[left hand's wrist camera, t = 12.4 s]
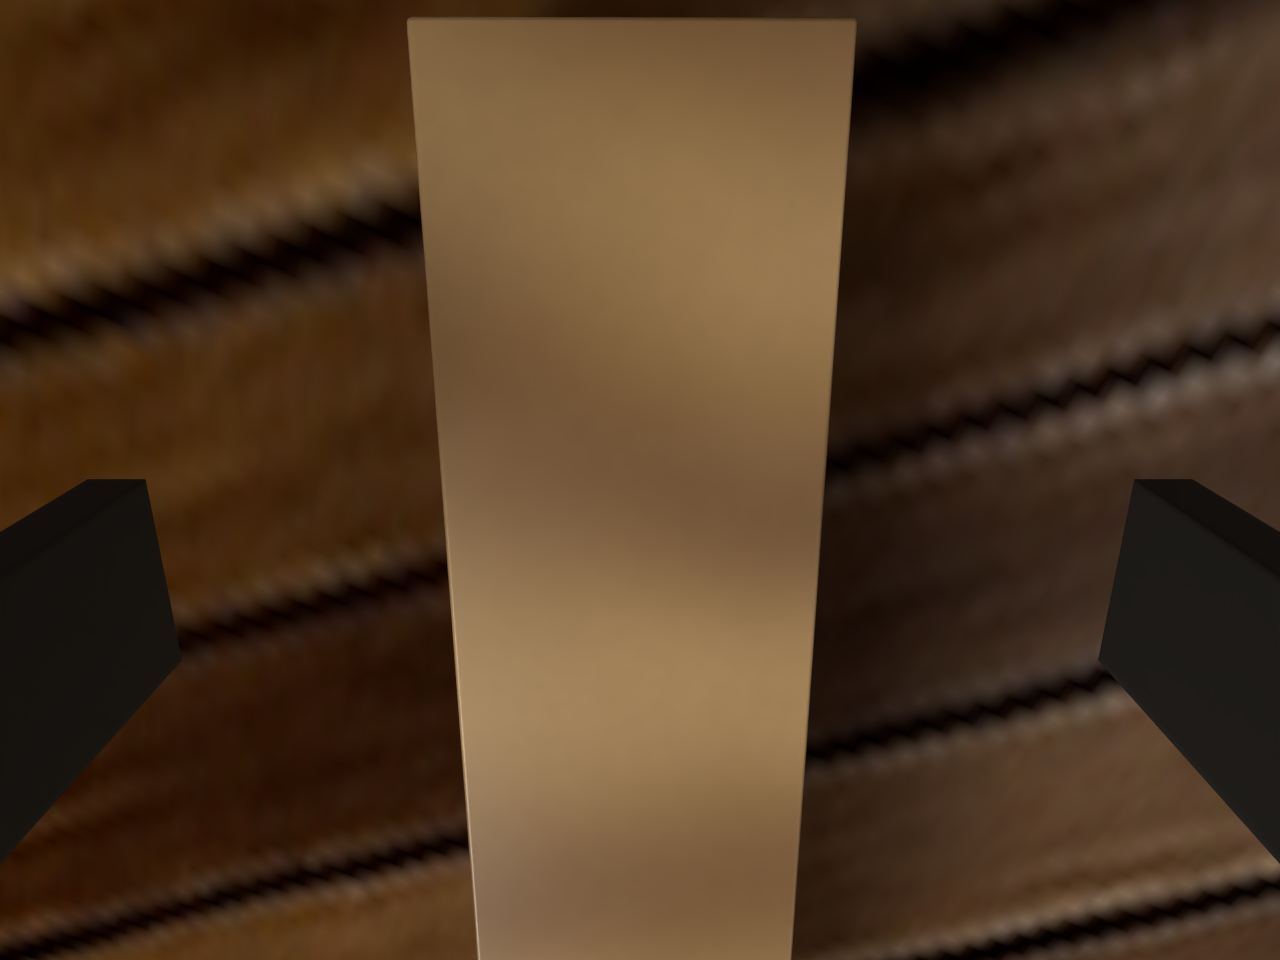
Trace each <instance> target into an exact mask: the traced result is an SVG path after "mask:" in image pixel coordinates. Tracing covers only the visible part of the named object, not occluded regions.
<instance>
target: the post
mask: <svg viewBox="0 0 1280 960" xmlns="http://www.w3.org/2000/svg"><path fill="white" fill-rule="evenodd" d="M856 31H857V22H856V19H854V18H852V17H410V18H408V20H407V34H408V47H409V61H410V74H411V87H412V100H413V114H414V127H415V140H416V153H417V166H418V180H419V193H420V206H421V219H422V233H423V246H424V259H425V272H426V286H427V299H428V312H429V325H430V339H431V352H432V365H433V378H434V392H435V405H436V418H437V431H438V445H439V458H440V471H441V484H442V498H443V511H444V524H445V537H446V551H447V564H448V577H449V590H450V604H451V617H452V630H453V643H454V656H455V670H456V683H457V696H458V709H459V723H460V736H461V749H462V762H463V776H464V789H465V802H466V815H467V829H468V842H469V855H470V868H471V882H472V895H473V908H474V921H475V935H476V948H477V960H791V959H792V945H793V931H794V916H795V902H796V888H797V873H798V859H799V845H800V831H801V816H802V802H803V788H804V773H805V759H806V745H807V731H808V716H809V702H810V688H811V673H812V659H813V645H814V631H815V616H816V602H817V588H818V573H819V559H820V545H821V531H822V516H823V502H824V488H825V474H826V459H827V445H828V431H829V416H830V402H831V388H832V374H833V359H834V345H835V331H836V316H837V302H838V288H839V274H840V259H841V245H842V231H843V216H844V202H845V188H846V174H847V159H848V145H849V131H850V116H851V102H852V88H853V74H854V59H855V45H856Z"/></svg>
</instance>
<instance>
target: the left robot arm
mask: <svg viewBox="0 0 1280 960" xmlns="http://www.w3.org/2000/svg"><path fill="white" fill-rule="evenodd" d="M181 660H182V659H181V654H180V649H179V644H178V639H177V634H176V629H175V624H174V619H173V614H172V609H171V604H170V599H169V594H168V589H167V584H166V579H165V574H164V569H163V564H162V559H161V554H160V549H159V544H158V539H157V534H156V529H155V524H154V519H153V514H152V509H151V504H150V499H149V495H148V490H147V485H146V480H145V479H87V480H86V481H84V482H82V483H81V484H79V485H78V486H76V487H74V488H73V489H71V490H69V491H68V492H66V493H64V494H63V495H61V496H59V497H58V498H56V499H54V500H53V501H51V502H49V503H48V504H46V505H44V506H43V507H41V508H39V509H38V510H36V511H34V512H33V513H31V514H29V515H28V516H26V517H24V518H23V519H21V520H19V521H18V522H16V523H14V524H13V525H11V526H10V527H8V528H6V529H5V530H3V531H1V532H0V863H1V862H2V861H3V860H4V859H5V858H6V856H7V855H8V854H9V853H10V852H11V851H12V850H13V849H14V848H15V846H16V845H17V844H18V843H19V842H20V841H21V840H22V839H23V837H24V836H25V835H26V834H27V833H28V832H29V831H30V830H31V828H32V827H33V826H34V825H35V824H36V823H37V822H38V821H39V820H40V818H41V817H42V816H43V815H44V814H45V813H46V812H47V811H48V809H49V808H50V807H51V806H52V805H53V804H54V803H55V802H56V800H57V799H58V798H59V797H60V796H61V795H62V794H63V793H64V791H65V790H66V789H67V788H68V787H69V786H70V785H71V784H72V783H73V781H74V780H75V779H76V778H77V777H78V776H79V775H80V774H81V772H82V771H83V770H84V769H85V768H86V767H87V766H88V765H89V763H90V762H91V761H92V760H93V759H94V758H95V757H96V756H97V754H98V753H99V752H100V751H101V750H102V749H103V748H104V747H105V746H106V744H107V743H108V742H109V741H110V740H111V739H112V738H113V737H114V735H115V734H116V733H117V732H118V731H119V730H120V729H121V728H122V726H123V725H124V724H125V723H126V722H127V721H128V720H129V719H130V718H131V716H132V715H133V714H134V713H135V712H136V711H137V710H138V709H139V707H140V706H141V705H142V704H143V703H144V702H145V701H146V700H147V698H148V697H149V696H150V695H151V694H152V693H153V692H154V691H155V689H156V688H157V687H158V686H159V685H160V684H161V683H162V682H163V681H164V679H165V678H166V677H167V676H168V675H169V674H170V673H171V672H172V670H173V669H174V668H175V667H176V666H177V665H178V664H179V663H180V661H181ZM1098 660H1099V661H1100V663H1101V664H1102V665H1103V666H1104V667H1105V668H1106V669H1107V670H1108V672H1109V673H1110V674H1111V675H1112V676H1113V677H1114V678H1115V679H1116V681H1117V682H1118V683H1119V684H1120V685H1121V686H1122V687H1123V688H1124V689H1125V691H1126V692H1127V693H1128V694H1129V695H1130V696H1131V697H1132V698H1133V700H1134V701H1135V702H1136V703H1137V704H1138V705H1139V706H1140V707H1141V709H1142V710H1143V711H1144V712H1145V713H1146V714H1147V715H1148V716H1149V718H1150V719H1151V720H1152V721H1153V722H1154V723H1155V724H1156V725H1157V726H1158V728H1159V729H1160V730H1161V731H1162V732H1163V733H1164V734H1165V735H1166V737H1167V738H1168V739H1169V740H1170V741H1171V742H1172V743H1173V744H1174V746H1175V747H1176V748H1177V749H1178V750H1179V751H1180V752H1181V753H1182V754H1183V756H1184V757H1185V758H1186V759H1187V760H1188V761H1189V762H1190V763H1191V765H1192V766H1193V767H1194V768H1195V769H1196V770H1197V771H1198V772H1199V774H1200V775H1201V776H1202V777H1203V778H1204V779H1205V780H1206V781H1207V783H1208V784H1209V785H1210V786H1211V787H1212V788H1213V789H1214V790H1215V791H1216V793H1217V794H1218V795H1219V796H1220V797H1221V798H1222V799H1223V800H1224V802H1225V803H1226V804H1227V805H1228V806H1229V807H1230V808H1231V809H1232V811H1233V812H1234V813H1235V814H1236V815H1237V816H1238V817H1239V818H1240V820H1241V821H1242V822H1243V823H1244V824H1245V825H1246V826H1247V827H1248V828H1249V830H1250V831H1251V832H1252V833H1253V834H1254V835H1255V836H1256V837H1257V839H1258V840H1259V841H1260V842H1261V843H1262V844H1263V845H1264V846H1265V848H1266V849H1267V850H1268V851H1269V852H1270V853H1271V854H1272V855H1273V856H1274V858H1275V859H1276V860H1277V861H1278V862H1279V863H1280V532H1279V531H1277V530H1275V529H1274V528H1272V527H1270V526H1269V525H1267V524H1266V523H1264V522H1262V521H1261V520H1259V519H1257V518H1256V517H1254V516H1252V515H1251V514H1249V513H1247V512H1246V511H1244V510H1242V509H1241V508H1239V507H1237V506H1236V505H1234V504H1232V503H1231V502H1229V501H1227V500H1226V499H1224V498H1222V497H1221V496H1219V495H1217V494H1216V493H1214V492H1212V491H1211V490H1209V489H1207V488H1206V487H1204V486H1202V485H1201V484H1199V483H1198V482H1196V481H1194V480H1193V479H1135V480H1134V485H1133V490H1132V495H1131V499H1130V504H1129V509H1128V514H1127V519H1126V524H1125V529H1124V534H1123V539H1122V544H1121V549H1120V554H1119V559H1118V564H1117V569H1116V574H1115V579H1114V584H1113V589H1112V594H1111V599H1110V604H1109V609H1108V614H1107V619H1106V624H1105V629H1104V634H1103V639H1102V644H1101V649H1100V654H1099V659H1098Z"/></svg>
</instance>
